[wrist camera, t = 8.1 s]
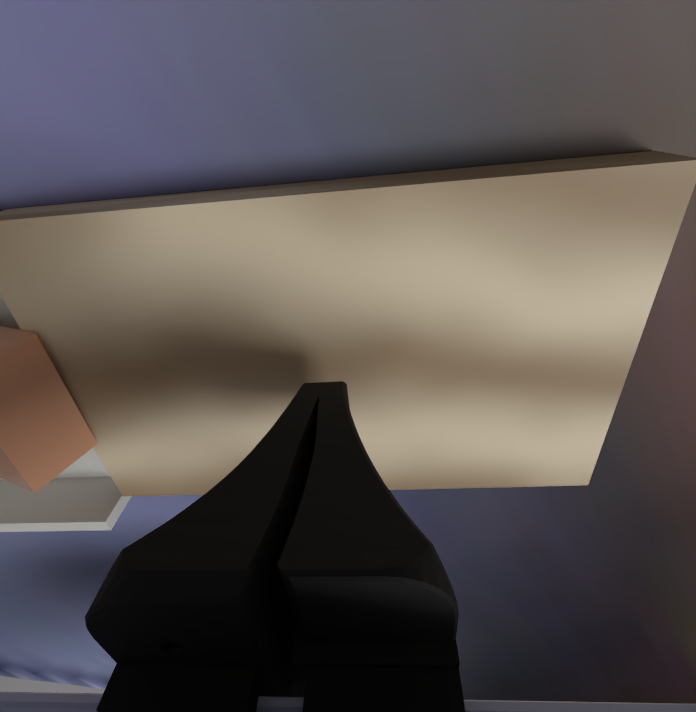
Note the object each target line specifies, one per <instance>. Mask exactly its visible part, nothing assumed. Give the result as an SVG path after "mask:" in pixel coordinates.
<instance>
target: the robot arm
mask: <svg viewBox="0 0 696 712" xmlns="http://www.w3.org/2000/svg"><path fill="white" fill-rule="evenodd" d="M85 621H86V627H87V629H88V631H89V632H90V634H91V635H92V637H93V638H94V639H95V640H96V641H97V642H98V643H99V645H100V646H101V647H102V648H103V649H104V650H105V651H106V652H107V653H108V654H109V655H110V656H111V657H112V658H113V659H114V660H115V662H116V663H117V664H116V666H115V669H114V671H113V673H112V675H111V678H110V680H109V682H108V684H107V687H106V689H105V691H104V693H103V694H89V693H32V692H28V693H27V692H0V712H696V704H671V703H613V702H555V701H497V700H464V698H463V692H462V686H461V680H460V674H459V668H458V667H459V656H458V650H457V644H456V632H457V623H458V605H457V601H456V598H455V594H454V591H453V588H452V585H451V583H450V580H449V578H448V575H447V573H446V571H445V569H444V567H443V565H442V562H441V560H440V558H439V556H438V554H437V552H436V550H435V548H434V546H433V544H432V543H431V542H430V541H429V540H428V539H427V537H426V536H425V535H424V534H423V533H422V532H421V531H420V529H419V528H418V527H417V526H416V525H415V524H414V522H413V521H412V520H411V519H410V517H409V516H408V515H407V514H406V512H405V511H404V510H403V509H402V507H401V506H400V505H399V503H398V502H397V500H396V499H395V498H394V496H393V495H392V493H391V492H390V490H389V489H388V487H387V486H386V485H385V483H384V482H383V480H382V478H381V477H380V475H379V473H378V472H377V470H376V468H375V467H374V465H373V463H372V461H371V459H370V458H369V456H368V454H367V452H366V450H365V448H364V445H363V443H362V441H361V439H360V437H359V434H358V432H357V429H356V427H355V424H354V421H353V418H352V415H351V412H350V407H349V398H348V389H347V384H346V383H345V382H343V381H336V382H316V383H304V384H303V385H302V386H301V387H300V389H299V390H298V392H297V393H296V395H295V396H294V398H293V399H292V401H291V402H290V403H289V405H288V406H287V408H286V409H285V410H284V412H283V413H282V414H281V416H280V417H279V418H278V420H277V421H276V422H275V424H274V425H273V426H272V428H271V429H270V430H269V431H268V432H267V434H266V435H265V436H264V437H263V438H262V440H261V441H260V442H259V443H258V444H257V445H256V447H255V448H254V449H253V450H252V451H251V452H250V453H249V454H248V455H247V456H246V457H245V458H244V459H243V460H242V461H241V462H240V463H239V464H238V465H237V466H236V467H235V468H234V469H233V470H232V471H231V472H230V473H229V474H228V475H227V476H226V477H225V478H223V479H222V480H221V481H220V482H219V483H217V484H216V485H215V486H214V487H213V488H212V489H210V490H209V491H208V492H207V493H206V494H204V495H203V496H202V497H201V498H199V499H198V500H197V501H195V502H194V503H193V504H191V505H190V506H189V507H187V508H186V509H185V510H183V511H182V512H180V513H179V514H178V515H176V516H175V517H173V518H172V519H170V520H169V521H167V522H166V523H164V524H163V525H161V526H160V527H158V528H157V529H155V530H153V531H152V532H150V533H149V534H147V535H145V536H144V537H142V538H141V539H139V540H137V541H136V542H134V543H133V544H131V545H129V546H128V547H126V548H124V549H123V550H122V551H121V553H120V555H119V556H118V558H117V559H116V561H115V563H114V564H113V566H112V567H111V569H110V571H109V573H108V575H107V577H106V579H105V580H104V582H103V584H102V586H101V588H100V590H99V592H98V593H97V595H96V597H95V599H94V601H93V603H92V605H91V606H90V608H89V610H88V612H87V614H86V616H85Z"/></svg>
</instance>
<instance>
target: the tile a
mask: <svg viewBox="0 0 696 712" xmlns="http://www.w3.org/2000/svg"><path fill="white" fill-rule="evenodd" d="M96 445H97V442H96V440H95V438H94V436H93V435H92V433H91V431H90V429H89V427H88V426H87V424H86V422H85V420H84V419H83V417H82V415H81V413H80V411H79V410H78V408H77V406H76V404H75V402H74V401H73V399H72V397H71V395H70V394H69V392H68V390H67V388H66V386H65V385H64V383H63V381H62V379H61V377H60V376H59V374H58V372H57V370H56V368H55V367H54V365H53V363H52V361H51V360H50V358H49V356H48V354H47V352H46V351H45V349H44V347H43V345H42V343H41V342H40V340H39V338H38V336H37V335H36V333H31V332H27V331H22V330H18V329H13V328H9V327H4V326H0V478H2V479H4V480H7V481H9V482H11V483H13V484H15V485H18V486H20V487H22V488H24V489H26V490H29V491H31V492H33V493H36V492H37V491H38V490H40V489H41V488H42V487H43V486H45V485H46V484H47V483H49V482H50V481H51V480H52V479H54V478H55V477H56V476H57V475H59V474H60V473H61V472H62V471H64V470H65V469H66V468H68V467H69V466H70V465H71V464H73V463H74V462H75V461H76V460H78V459H79V458H80V457H82V456H83V455H84V454H85V453H87V452H88V451H89V450H90V449H92V448H93V447H94V446H96Z"/></svg>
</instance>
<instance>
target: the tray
mask: <svg viewBox="0 0 696 712" xmlns="http://www.w3.org/2000/svg"><path fill="white" fill-rule="evenodd" d="M0 326H4V327H9V328H13V329H18V330H21V328H20V327H19V325H18V323H17V322H16V320H15V318H14V317H13V315H12V313H11V312H10V310H9V309H8V307H7V305H6V304H5V302H4V300H3V299H2V297H1V295H0ZM130 498H131V496H122V495H121V493H120V491H119V490H118V488H117V486H116V485H115V483H114V481H113V480H112V478H111V476H110V475H109V473H108V471H107V470H106V468H105V467H104V465H103V463H102V462H101V460H100V458H99V457H98V455H97V453H96V452H95V450H94V448H92V449H90V450H89V451H88V452H87V453H85V454H84V455H83V456H82V457H80V458H79V459H78V460H76V461H75V462H74V463H73V464H71V465H70V466H69V467H68V468H66V469H65V470H64V471H62V472H61V473H60V474H59V475H57V476H56V477H55V478H54V479H52V480H51V481H50V482H49V483H47V484H46V485H45V486H43V487H42V488H41V489H40V490H38V491H37V492H36V493H33V492H31V491H29V490H26V489H24V488H22V487H20V486H18V485H15V484H13V483H11V482H9V481H7V480H4V479H2V478H0V532H31V531H92V530H112V528H113V526H114V525H115V523H116V521H117V520H118V518H119V516H120V515H121V513H122V511H123V510H124V508H125V506H126V505H127V503H128V501H129V500H130Z"/></svg>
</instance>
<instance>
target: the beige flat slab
mask: <svg viewBox="0 0 696 712" xmlns="http://www.w3.org/2000/svg"><path fill="white" fill-rule="evenodd" d="M695 183H696V158H694V157H688V156H682V155H676V154H670V153H664V152H659V151H646V152H635V153H624V154H612V155H601V156H590V157H579V158H568V159H557V160H546V161H535V162H523V163H512V164H501V165H490V166H479V167H468V168H457V169H446V170H434V171H423V172H412V173H401V174H390V175H379V176H368V177H357V178H345V179H334V180H323V181H312V182H301V183H290V184H279V185H268V186H256V187H245V188H234V189H223V190H212V191H201V192H190V193H179V194H168V195H156V196H145V197H134V198H123V199H112V200H101V201H90V202H79V203H67V204H56V205H45V206H34V207H23V208H12V209H8V210H4V211H1V212H0V295H1V297H2V299H3V300H4V302H5V304H6V305H7V307H8V309H9V310H10V312H11V313H12V315H13V317H14V318H15V320H16V322H17V323H18V325H19V327H20V328H21V330H22V331H27V332H31V333H36V335H37V336H38V338H39V340H40V342H41V343H42V345H43V347H44V349H45V351H46V352H47V354H48V356H49V358H50V360H51V361H52V363H53V365H54V367H55V368H56V370H57V372H58V374H59V376H60V377H61V379H62V381H63V383H64V385H65V386H66V388H67V390H68V392H69V394H70V395H71V397H72V399H73V401H74V402H75V404H76V406H77V408H78V410H79V411H80V413H81V415H82V417H83V419H84V420H85V422H86V424H87V426H88V427H89V429H90V431H91V433H92V435H93V436H94V438H95V440H96V442H97V445H96V446H94V447H93V448H94V450H95V452H96V453H97V455H98V457H99V458H100V460H101V462H102V463H103V465H104V467H105V468H106V470H107V471H108V473H109V475H110V476H111V478H112V480H113V481H114V483H115V485H116V486H117V488H118V490H119V491H120V493H121V495H122V496H157V495H199V494H206V493H207V492H208V491H209V490H210V489H212V488H213V487H214V486H215V485H216V484H217V483H219V482H220V481H221V480H222V479H223V478H225V477H226V476H227V475H228V474H229V473H230V472H231V471H232V470H233V469H234V468H235V467H236V466H237V465H238V464H239V463H240V462H241V461H242V460H243V459H244V458H245V457H246V456H247V455H248V454H249V453H250V452H251V451H252V450H253V449H254V448H255V447H256V445H257V444H258V443H259V442H260V441H261V440H262V438H263V437H264V436H265V435H266V434H267V432H268V431H269V430H270V429H271V428H272V426H273V425H274V424H275V422H276V421H277V420H278V418H279V417H280V416H281V414H282V413H283V412H284V410H285V409H286V408H287V406H288V405H289V403H290V402H291V401H292V399H293V398H294V396H295V395H296V393H297V392H298V390H299V389H300V387H301V386H302V385H303V384H304V383H316V382H336V381H343V382H345V383H346V384H347V389H348V398H349V407H350V412H351V415H352V418H353V421H354V424H355V427H356V429H357V432H358V434H359V437H360V439H361V441H362V443H363V445H364V448H365V450H366V452H367V454H368V456H369V458H370V459H371V461H372V463H373V465H374V467H375V468H376V470H377V472H378V473H379V475H380V477H381V478H382V480H383V482H384V483H385V485H386V486H387V487H388V489H389V490H407V489H448V488H490V487H532V486H573V485H588V484H589V481H590V478H591V475H592V472H593V470H594V467H595V464H596V461H597V458H598V455H599V453H600V450H601V447H602V444H603V441H604V439H605V436H606V433H607V430H608V427H609V425H610V422H611V419H612V416H613V413H614V411H615V408H616V405H617V402H618V399H619V397H620V394H621V391H622V388H623V385H624V383H625V380H626V377H627V374H628V371H629V368H630V366H631V363H632V360H633V357H634V354H635V352H636V349H637V346H638V343H639V340H640V338H641V335H642V332H643V329H644V326H645V324H646V321H647V318H648V315H649V312H650V310H651V307H652V304H653V301H654V298H655V295H656V293H657V290H658V287H659V284H660V281H661V279H662V276H663V273H664V270H665V267H666V265H667V262H668V259H669V256H670V253H671V251H672V248H673V245H674V242H675V239H676V237H677V234H678V231H679V228H680V225H681V223H682V220H683V217H684V214H685V211H686V208H687V206H688V203H689V200H690V197H691V194H692V192H693V189H694V186H695Z"/></svg>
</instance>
